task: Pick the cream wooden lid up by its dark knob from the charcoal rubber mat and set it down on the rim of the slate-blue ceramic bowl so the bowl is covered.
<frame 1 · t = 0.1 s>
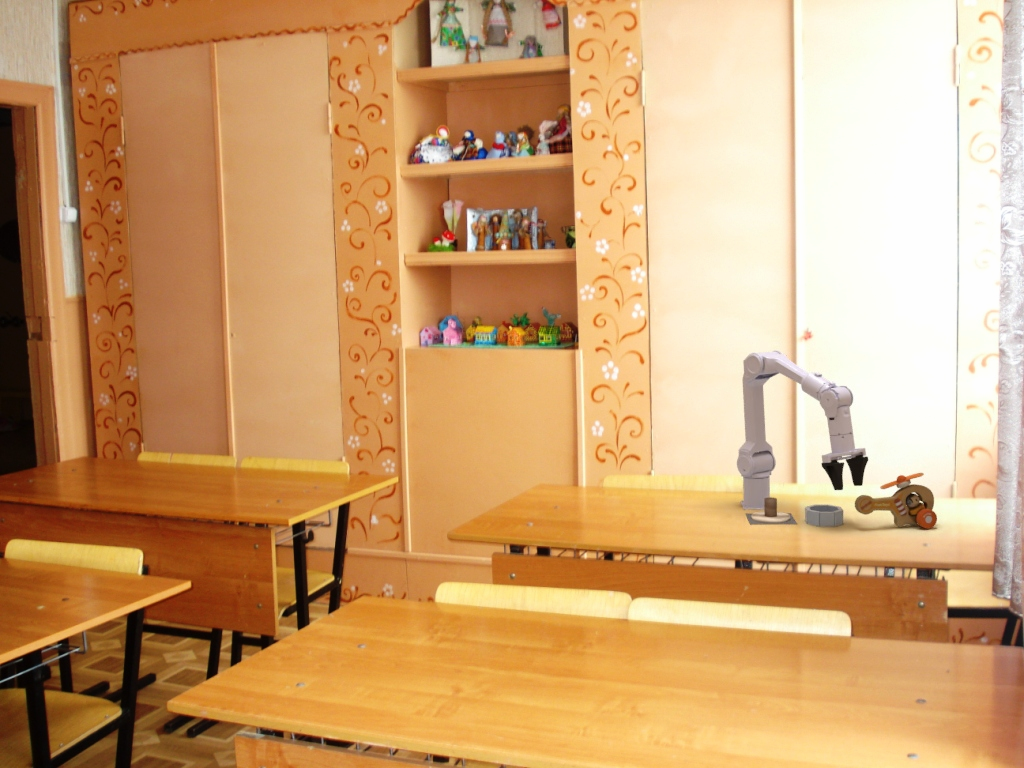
hand: (848, 487, 250), 11 cm above the table, tool pointing down, fingers open, 7 cm apart
bowl: (824, 523, 257), on the table
lid: (770, 518, 263), resting on mat
mat: (770, 520, 263), on the table
toy helicopter: (897, 527, 251), on the table
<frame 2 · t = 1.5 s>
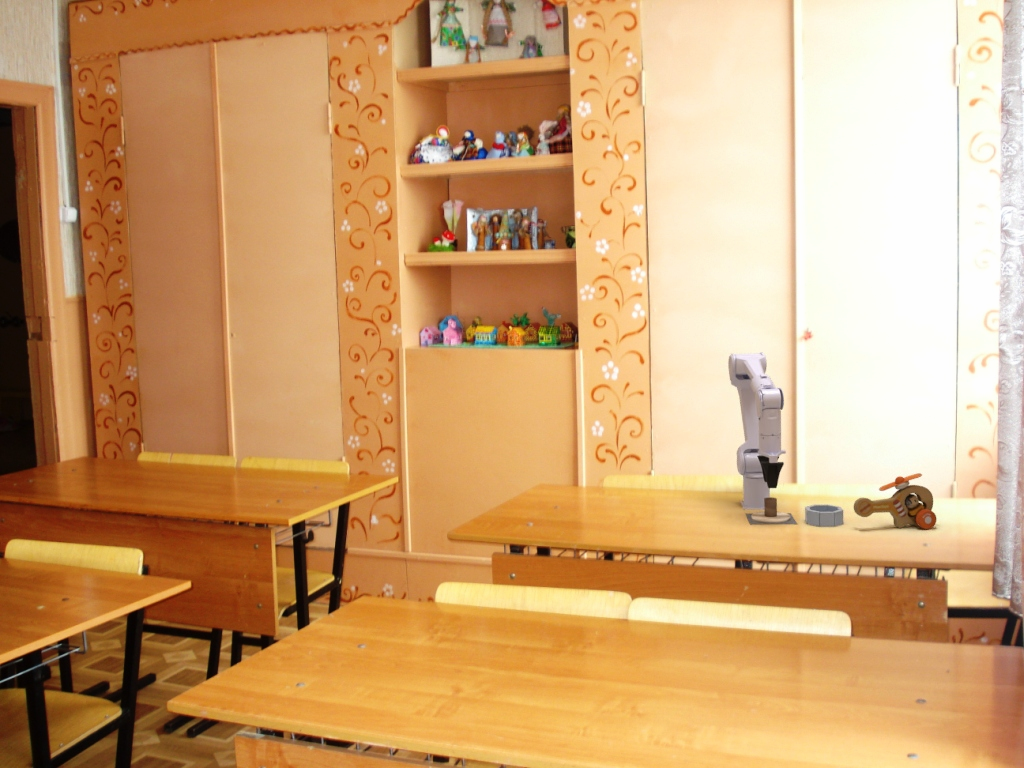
hand: (770, 485, 262), 9 cm above the table, tool pointing down, fingers open, 7 cm apart
nothing on the table moved.
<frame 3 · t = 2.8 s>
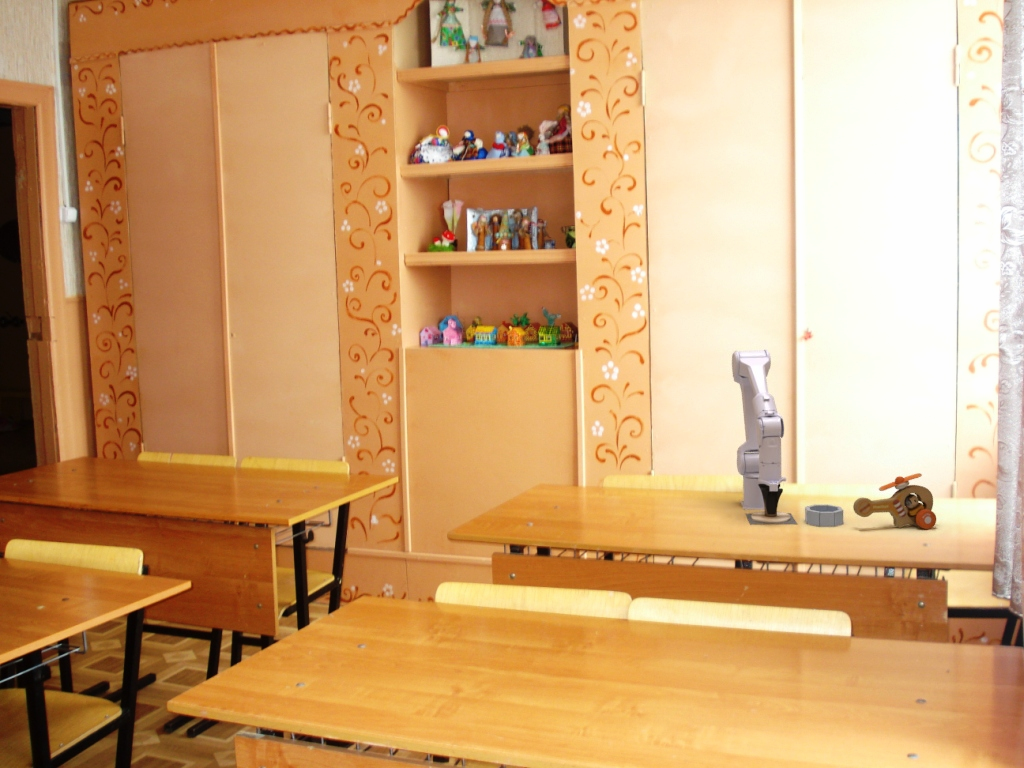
hand: (770, 512, 262), 2 cm above the table, tool pointing down, fingers closed on lid, 3 cm apart
lid: (770, 518, 263), resting on mat, touching gripper
everything else where it was.
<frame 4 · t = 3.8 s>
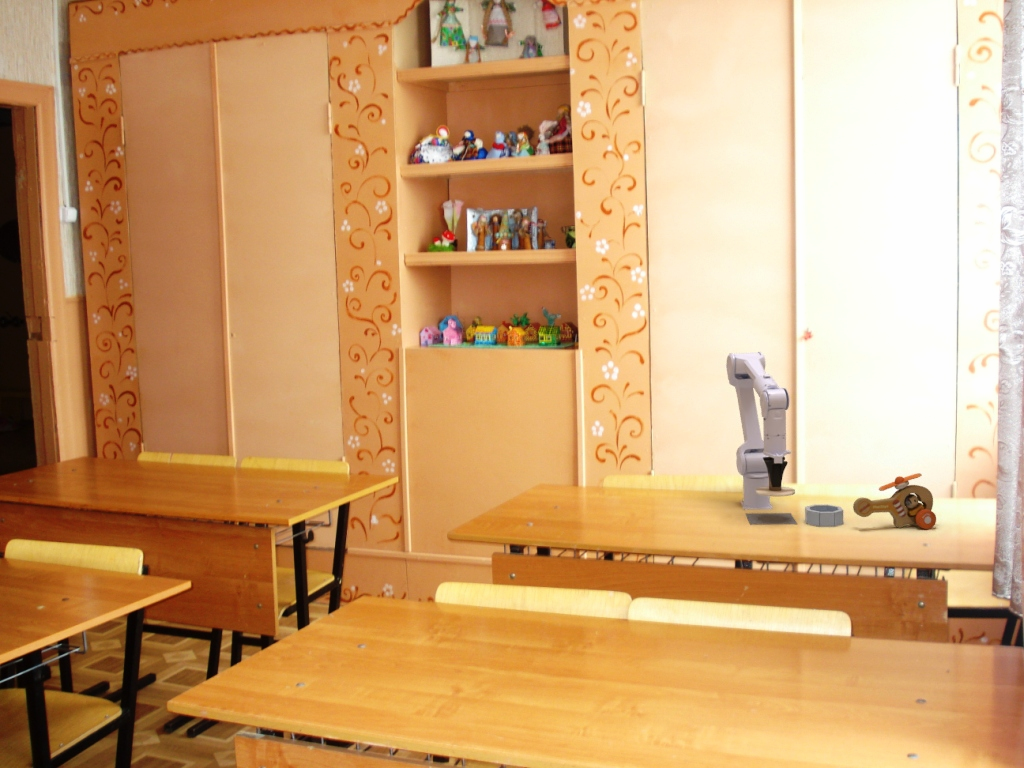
hand: (775, 485, 261), 9 cm above the table, tool pointing down, fingers closed on lid, 3 cm apart
lid: (775, 492, 261), point 7 cm above the table, touching gripper
everything else where it was.
when the fingers open (7 cm above the table, at t = 5.1 s): lid drops 1 cm, resting on bowl.
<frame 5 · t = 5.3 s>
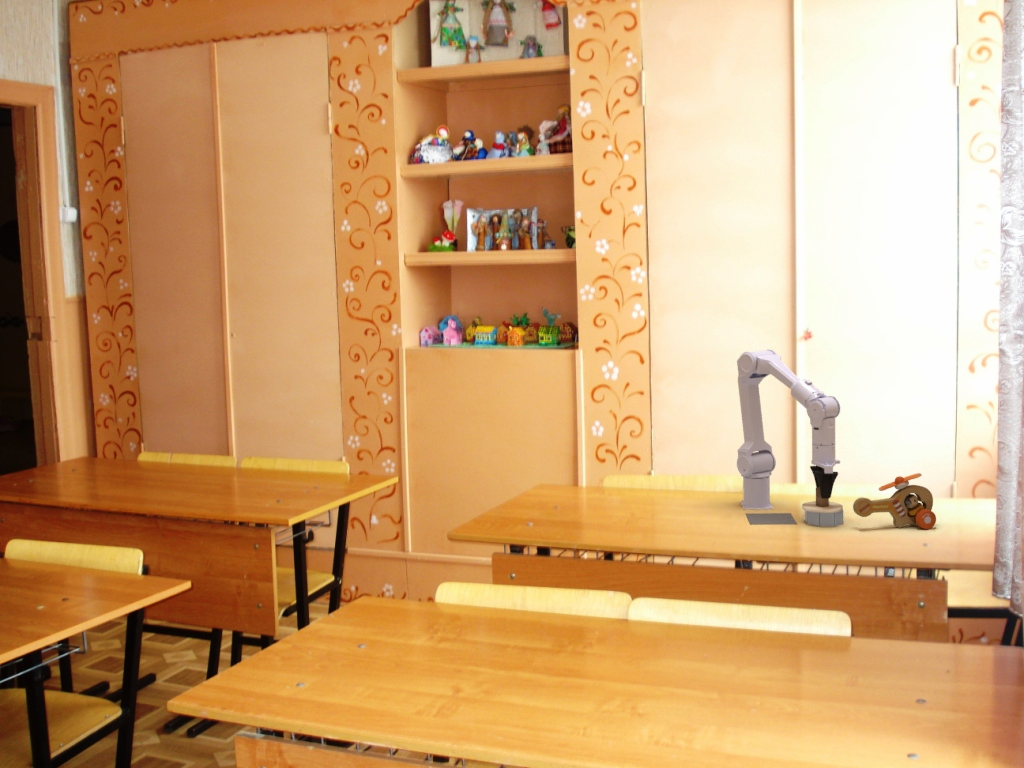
hand: (823, 495, 256), 7 cm above the table, tool pointing down, fingers open, 5 cm apart
lid: (822, 508, 257), point 4 cm above the table, touching bowl
everything else where it was.
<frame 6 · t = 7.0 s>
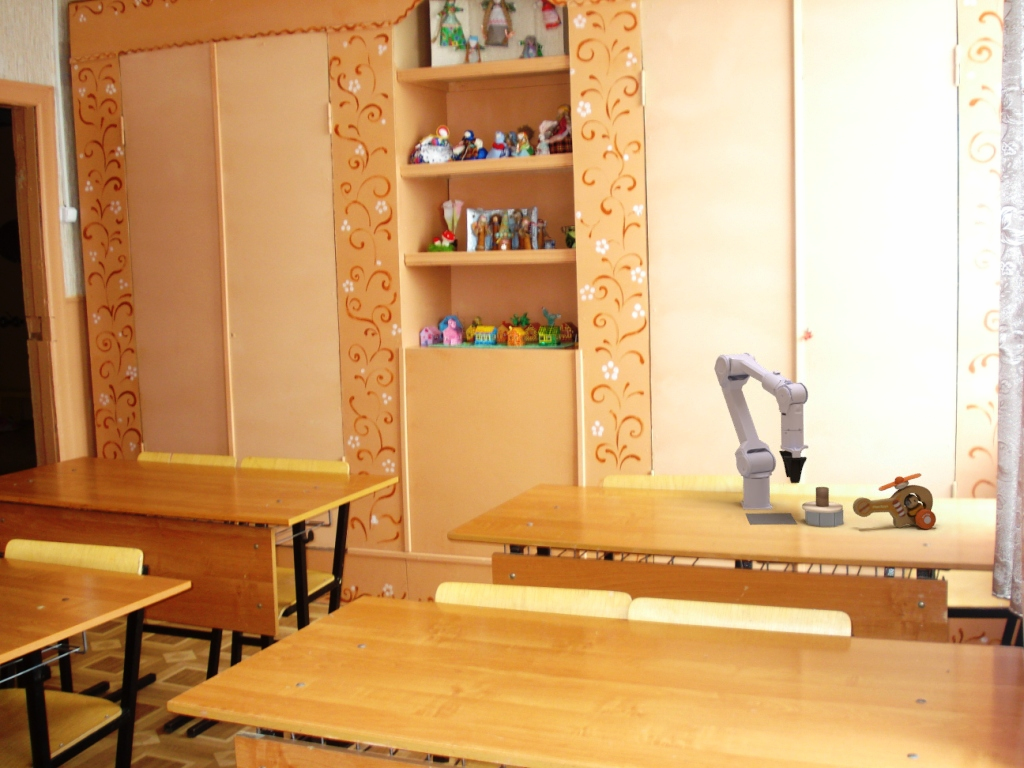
hand: (792, 479, 263), 10 cm above the table, tool pointing down, fingers open, 7 cm apart
nothing on the table moved.
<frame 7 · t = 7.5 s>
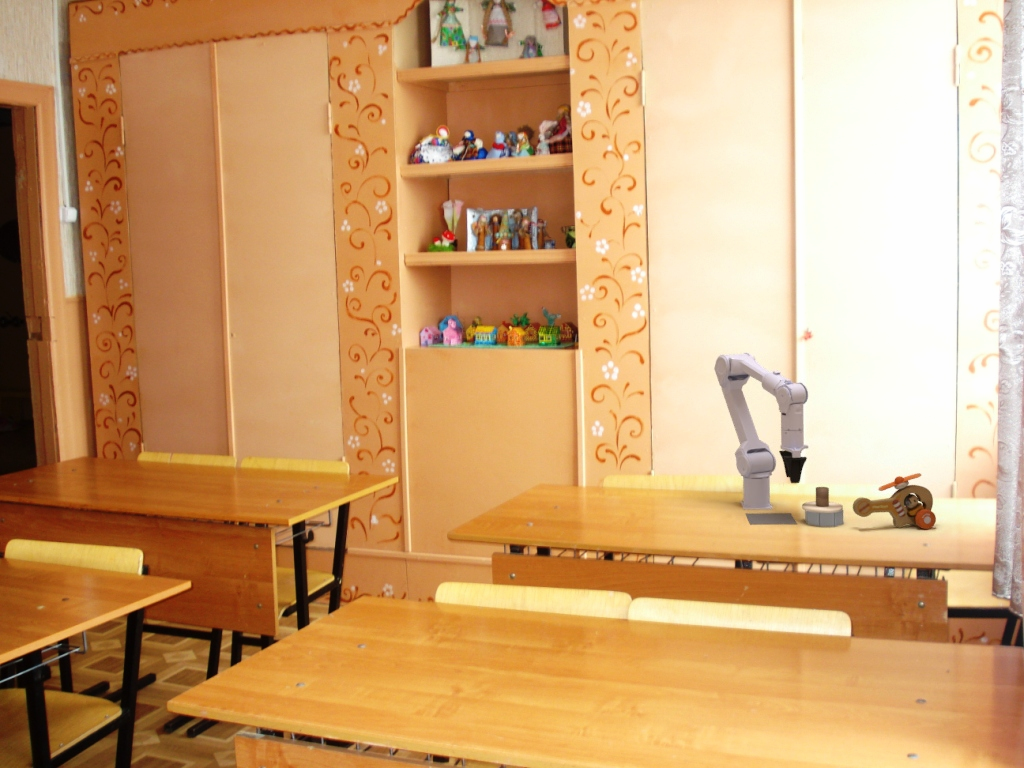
hand: (792, 479, 263), 10 cm above the table, tool pointing down, fingers open, 7 cm apart
nothing on the table moved.
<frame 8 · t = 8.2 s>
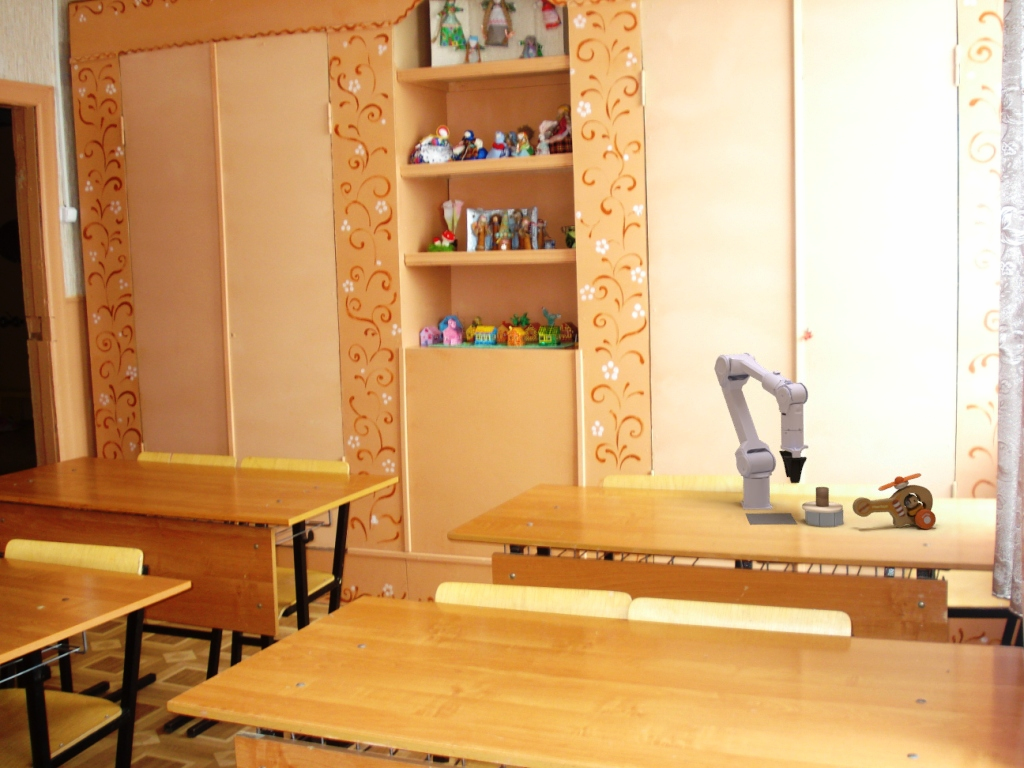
hand: (792, 479, 263), 10 cm above the table, tool pointing down, fingers open, 7 cm apart
nothing on the table moved.
at the end: lid 0.4 cm off-centre on the bowl, point 4.0 cm above the bowl's base; lid tilted 0°; the gripper is holding nothing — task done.
